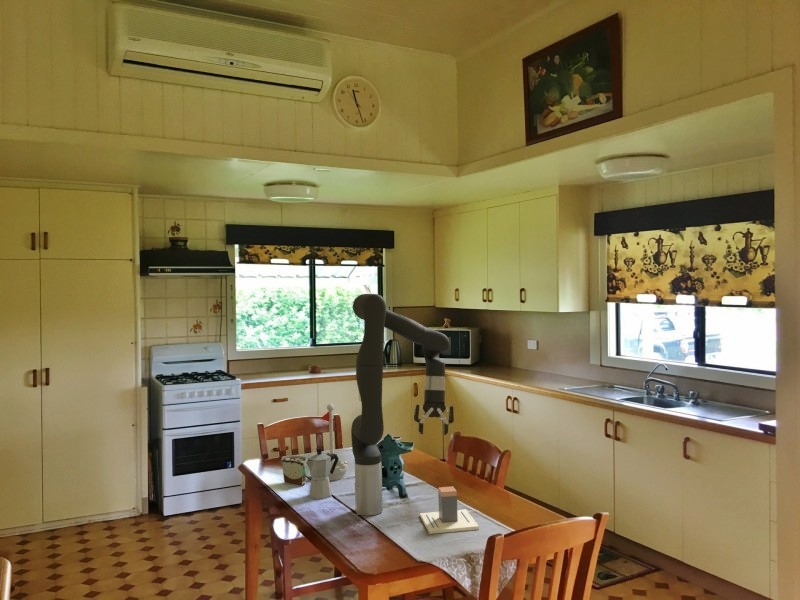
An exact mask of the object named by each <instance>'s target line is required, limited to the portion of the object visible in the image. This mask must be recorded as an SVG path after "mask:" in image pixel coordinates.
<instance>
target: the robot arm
mask: <svg viewBox="0 0 800 600" xmlns="http://www.w3.org/2000/svg"><path fill="white" fill-rule="evenodd" d="M352 311H353V313H354V314H355V316H356V317H357V318H359V319H361V320H363V321H364V322H363V324H364V325H363V326H364V328H363V329H364V330H363V331H364V332H363V338H362V342H361V344H360V346H359V350H358V353H357V355H356V360H355V361H356V362H355V378H356V380H355V381H356V385H357V389H358V393H359V396H360V401H361V414H359V415H357V416H356V417H355V418H354V419H353V421H352V423H351V430H350V432H351V437H350V438H351V447H352V448H351V451H352V455H353V457H354V477H355V478H354V479H355V480H354V499H355V500H354V501H355V504H354V505H355V506H354V507H355V512H356V514H357V516H358V515H359V516H360V515H361V516H374V515H375V516H376V515H378V514H381V513H383V511H384V507H383V505H384V504H383V502H384V500H383V474H382V473H383V471H382V467H383V466H382V453H381V452H380V450H379V447H378V443H379V442H380V441H381V440H382V438H383V435H384V431H385V428H384V427H385V426H384V425H385V424H384V417H383V375H384V356H383V355H384V333H385V328H386V329H388V330H390V331H391V332H393V333H395V334H397V335H398V336H401V337H402V338H404V339H406V340H408V341H410V342H412V343H413V344H416V345H421V346H422V351H423V356H424V361H425V378H424V386H423V387H424V388H423V389H424V391H423V392H424V394H423V404H422V405H421V404H415V405H414V413H413V422H416V423H418V432H419V434H420V435H424V422H425V420H426V419H427V418H437V419H438V418H440V419H441V421H442V422H443V425H442V426H443V428H442V429H443V431H442V432H443V434H442V435H443V436H447V435H448V433H449V425H450V424H453V423H454V422H455V420H454V419H455V418H454V416H455V415H454V406H453V405H449V406H446V404H445V403H446V402H445V401H446V363H445V361H444V360H441V359H440V354H444V353H446V352H448V351H449V350H450V347H451V341H450V339H449V337H448V336H447V335H446V334H444V333H442V332H440V331H438V330H435V329H433V328H432V329H431V328H428V327H426V326H424V325H423V324H422V323H421V324H420V323H419V322H418V321H416V320H414V319H412V318H408V317H406V316H405V315H402V314H398V313H396V312H394V311H391V310H389V309H387V304H386V300H385V299H384V297H383V296H382V295H380V294H377V293H362V294H360V295H358V296H357V297H355V299H354V300H353V302H352ZM421 410H423V411H424V413H423V414H422V415H421V417H420V418H419V416H420V412H421ZM445 411H446V412H448V418H447V417H446V416H445V414H444V413H445Z"/></svg>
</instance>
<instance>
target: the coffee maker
mask: <svg viewBox="0 0 800 600" xmlns="http://www.w3.org/2000/svg"><path fill="white" fill-rule="evenodd" d="M315 449H316V454H312V455H311V456H308V457H307V461H306V462H305V463H307V467H308V469H309V474H310V476H311V479H310V486H309V495H308V498H310V499H312V500H325V499H328V498H331V497H332V495H333V492H332V486H331V483H330V482H331V480H329V477H328V475H329V473H331V474H333V472H334V470H335V467H336V465H337V463H338V460H339V459H340V458H339V456H338V455H337V454H336V453H334V454H330V452H327V453H322V452H323V448H322V447H316V448H315ZM332 460H334V463H333V465H332V468H331V470H330V462H331V461H332Z"/></svg>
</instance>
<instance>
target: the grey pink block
mask: <svg viewBox="0 0 800 600" xmlns="http://www.w3.org/2000/svg"><path fill="white" fill-rule="evenodd" d="M437 490H438V492H437V493H438V512H439V518H440V520H441V521H442V523H447V522H458V516H457V510H458V492H457V489H456V488H455V487H454V486H442V487H438V488H437Z"/></svg>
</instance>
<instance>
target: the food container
mask: <svg viewBox="0 0 800 600" xmlns="http://www.w3.org/2000/svg"><path fill="white" fill-rule="evenodd" d="M307 460H308V458H306V457H305V456H300V455H291V456H285V457H284V456H283V457H281V460H280V464H281V466H282V475H283V484H286V485H292V486H298V487H304V486H305V485H306V478H307V477H306V475H307V467H308V465H307V463H305V462H306V461H307Z"/></svg>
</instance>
